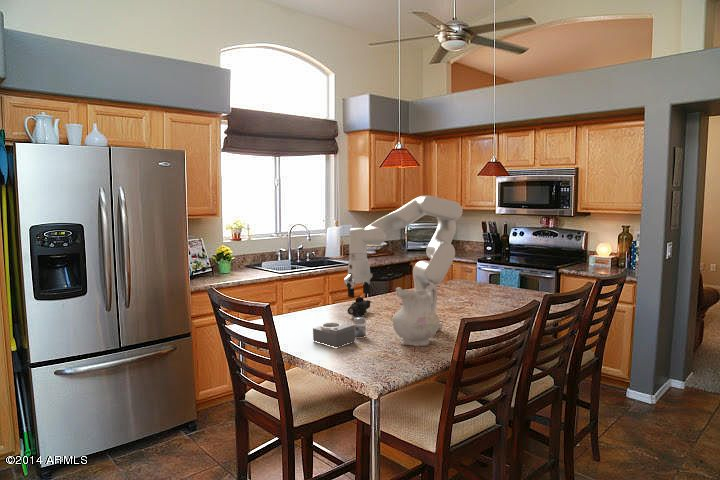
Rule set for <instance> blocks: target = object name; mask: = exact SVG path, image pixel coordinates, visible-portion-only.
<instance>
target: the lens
mask: <svg viewBox="0 0 720 480" xmlns="http://www.w3.org/2000/svg"><path fill="white" fill-rule="evenodd" d="M352 325H355V337H364V336H366V337H367V331H366V330H367V328H366V327H367V321H366V317H364V316H362V317H361V316H358V317H354V318H353V324H352ZM364 338H365V337H364Z"/></svg>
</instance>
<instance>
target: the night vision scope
mask: <svg viewBox="0 0 720 480" xmlns="http://www.w3.org/2000/svg"><path fill="white" fill-rule="evenodd" d="M354 300H355V302H353V303H351V305H350V306H348V308H347V313H348V315H349V316H350V315H351V316H353V315H354V316H356V315H359V317H361V316H362V317H364V316H365V315H366V314H367V313H368V311H367V310H369V308H370V307H371V303H372V301H370V300H369V299H367V300H364V298H363V297H361V296H358V297H356V298H355V299H354ZM363 315H364V316H363Z"/></svg>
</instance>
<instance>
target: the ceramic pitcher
mask: <svg viewBox="0 0 720 480" xmlns="http://www.w3.org/2000/svg"><path fill="white" fill-rule="evenodd" d="M431 291H432V293H431ZM395 294H396V296H397V297H398V298H400V299H401V305H402V306H401V308H400V309H399V310H398V311H396V312H395V313H394V314H393V316H392V326H393V329H394V331H395V333H396V334H397V336H398V337H399V338H401V339H402V340H401V341H400V342H401V343H400V342H399V345H405V346H406V345H408V346H413V347H423V346H428V345H429V344H430V342H431V341H430V340H429V339H431V338H433V337H434V336H435V335H436V333H437V332H438V331H439V330H438V328H439V324H440V317H439V316H438V314H437V312H436V313H435V312H434V308H435V305H436V306H437V300H438V289H437V285H434V284H433V282H428V283H427V288H426V289H425V290H417V291H415V290H409V289H407V288H405V289H403V288H402V287H398V286H397V287H396V288H395ZM431 297H433V298H432V302H431V306H429V303H430V300H431ZM437 330H438V331H437Z"/></svg>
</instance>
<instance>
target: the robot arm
mask: <svg viewBox="0 0 720 480" xmlns="http://www.w3.org/2000/svg"><path fill="white" fill-rule="evenodd" d="M462 215H463V207H462V205H461V204H460V203H459V202H458V201H454V200H450V199H445V198H441V197H436V196H433V195H420V196H417V197H415V198H414V199H412V200H410V201H409V202H408V203H406V204H404V205H403V206H401V207H400V208H398V209H396V210H394V211H392V212H390V213H389V214H386V215H384V216H382V217H380V218H378V219H377V220H375V221H373V222H372V223H371V224H369V225H367V226H366V227H352V228H350V230H349V235H348V238H349V241H348V242H349V245H348V247H349V255H348V258H349V261H348V265H347V276H346V277H344V278H343V281H344V285H345V286H346V288H347V297H348V298H352V299H353V298H355V288H354V287H355V285H357V284H363V285H362V293H363V294H365V295H366V294H367V295H369V294H370V285H371V283H372V278H373V276H374V275H373V274H374V273H372V272H371V268H370V262H369V259H368V245H374V246H378V245H379V246H380V245H381V244H384V242H385V241H386V238H387V233H390V232H392V231H396V230H401V229H404V228H406V227H408V226H410V225H411V224H413V223H414V222H416V221H418V220H419V219H421V218H423V217H425V216H430V217H433V218H434V217H435V218H436V219H437V227H436V230H435V232H434V234H433V235H432V237H431V240H430V241H429V243H428V245H427V247H426V250H425V253H426V256H427V257H428V258H429V259H430V260H424V259H423V260H419V261H417V262H416V263H415V265H414V266H413V269H412V277H413V282H414V283H413V284H414V291H417V290H425V289H426V288H427V283H428V282H433V284H434V285H435V286H437V285H438V284H440V283H442V281H443V280H444V279H445V276H446V275H447V274H448V271H449V270H450V268H451V266H452V263H453V262H454V260H455V256H456V250H455V247H454V245H453V244H452V242H453V239H454V237H455V235H456V231H457V223H456V221H457V220H459V219H460V218H461V217H462ZM431 293H432V291H431ZM432 298H433V297H431V300H430V303H429V306H431V302H432ZM434 312H435V313H436V314H437V304H436V305H435V308H434ZM442 329H443V323H439V328H438V330H437V332H439V330H442Z"/></svg>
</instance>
